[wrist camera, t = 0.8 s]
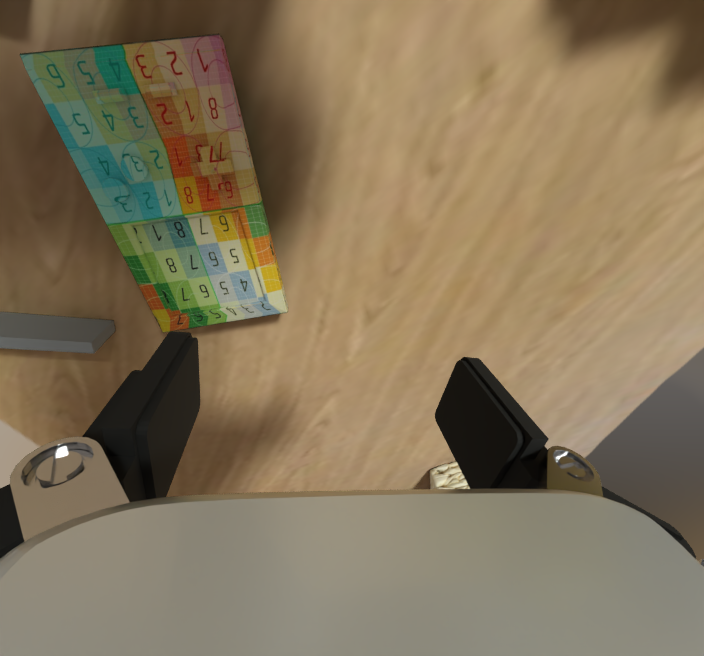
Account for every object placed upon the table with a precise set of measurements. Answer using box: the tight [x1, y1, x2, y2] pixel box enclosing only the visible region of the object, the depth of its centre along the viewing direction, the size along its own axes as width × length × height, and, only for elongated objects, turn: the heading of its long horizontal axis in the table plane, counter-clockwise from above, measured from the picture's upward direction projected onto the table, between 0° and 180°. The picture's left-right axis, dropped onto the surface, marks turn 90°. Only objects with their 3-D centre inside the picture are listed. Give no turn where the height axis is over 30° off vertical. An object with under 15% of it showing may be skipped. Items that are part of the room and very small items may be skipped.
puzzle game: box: [20, 34, 288, 333], centre depth 26 cm, size 12×5×20 cm
